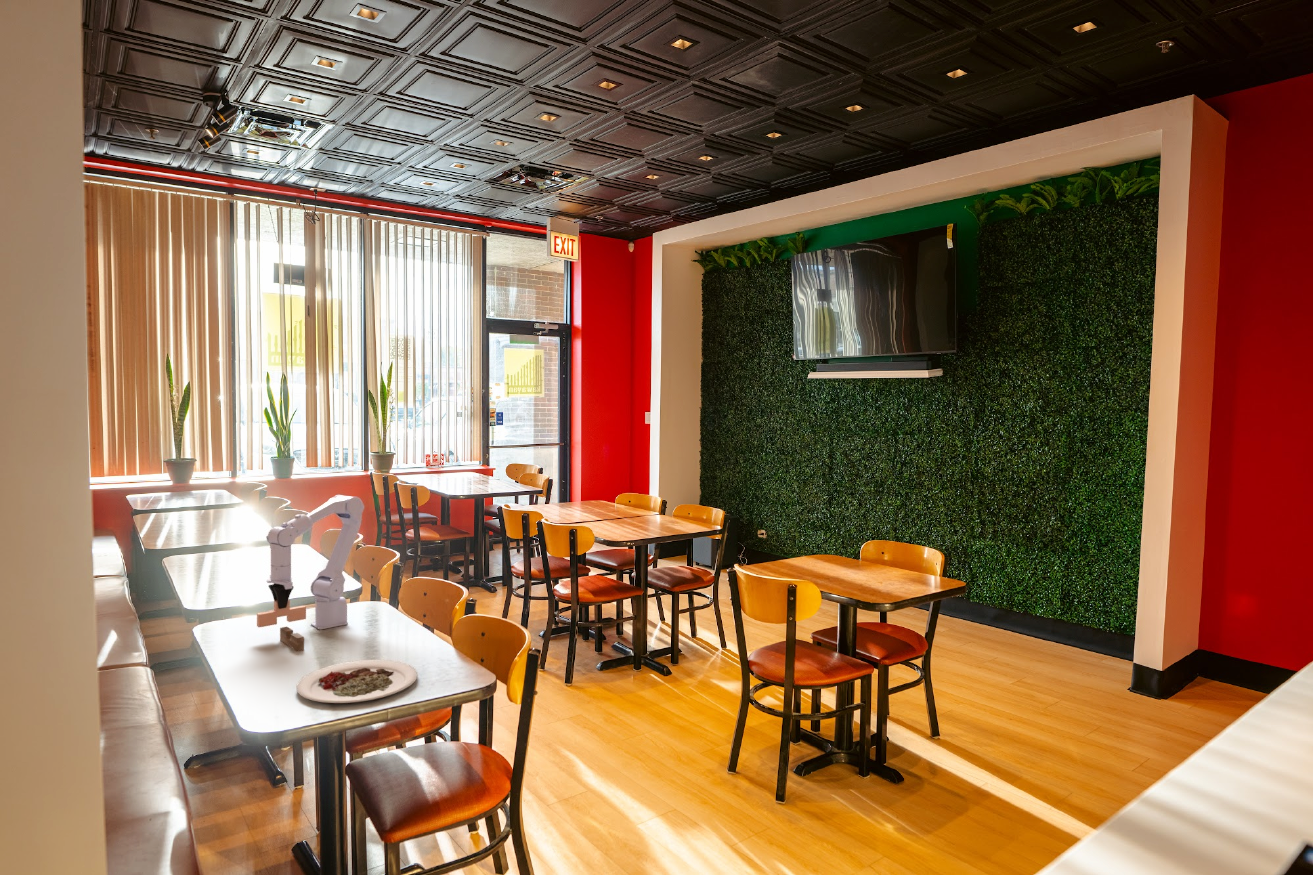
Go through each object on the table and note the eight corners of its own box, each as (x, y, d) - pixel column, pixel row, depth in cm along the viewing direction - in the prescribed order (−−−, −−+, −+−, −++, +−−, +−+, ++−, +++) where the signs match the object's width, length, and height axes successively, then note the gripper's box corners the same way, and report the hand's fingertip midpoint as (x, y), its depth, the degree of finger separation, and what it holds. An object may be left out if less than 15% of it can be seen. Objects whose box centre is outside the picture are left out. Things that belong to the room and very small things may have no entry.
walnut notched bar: (286, 638, 234) (286, 626, 234) (303, 649, 225) (303, 636, 225) (280, 640, 233) (280, 627, 233) (297, 651, 223) (297, 638, 223)
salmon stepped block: (303, 617, 241) (303, 596, 240) (306, 618, 239) (306, 597, 239) (256, 625, 231) (256, 603, 230) (259, 627, 229) (259, 605, 229)
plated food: (421, 699, 190) (421, 687, 190) (291, 715, 179) (291, 702, 179) (413, 661, 218) (413, 649, 218) (301, 672, 207) (301, 661, 207)
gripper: (259, 562, 236) (259, 604, 237) (275, 570, 226) (275, 614, 227) (283, 559, 241) (283, 600, 242) (299, 567, 231) (299, 610, 232)
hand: (281, 607), depth 235 cm, fingers closed on salmon stepped block, 2 cm apart
